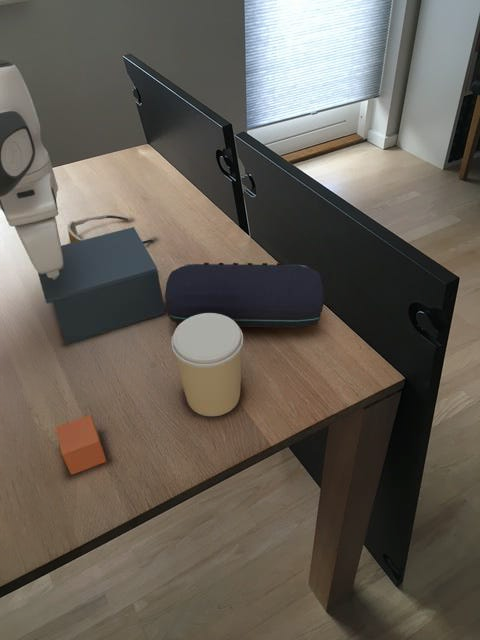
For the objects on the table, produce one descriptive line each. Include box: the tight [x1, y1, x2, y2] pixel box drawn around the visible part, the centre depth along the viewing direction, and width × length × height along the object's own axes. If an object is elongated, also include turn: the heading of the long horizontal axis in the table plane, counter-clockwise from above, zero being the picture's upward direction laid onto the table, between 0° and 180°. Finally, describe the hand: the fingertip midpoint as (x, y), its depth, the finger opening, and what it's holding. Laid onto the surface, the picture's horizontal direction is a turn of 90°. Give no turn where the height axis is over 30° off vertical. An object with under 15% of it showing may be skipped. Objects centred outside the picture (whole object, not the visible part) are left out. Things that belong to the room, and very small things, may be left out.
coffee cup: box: [170, 313, 244, 417], centre depth 73 cm, size 9×9×12 cm
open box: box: [51, 271, 166, 345], centre depth 91 cm, size 17×14×9 cm
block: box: [55, 414, 107, 475], centre depth 69 cm, size 5×5×5 cm
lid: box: [37, 226, 159, 304], centre depth 86 cm, size 17×14×5 cm
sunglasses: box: [66, 214, 154, 245], centre depth 107 cm, size 14×15×5 cm
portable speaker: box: [164, 262, 325, 328], centre depth 86 cm, size 25×10×10 cm, turn 86°
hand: (50, 263), depth 84 cm, fingers closed on lid, 5 cm apart
